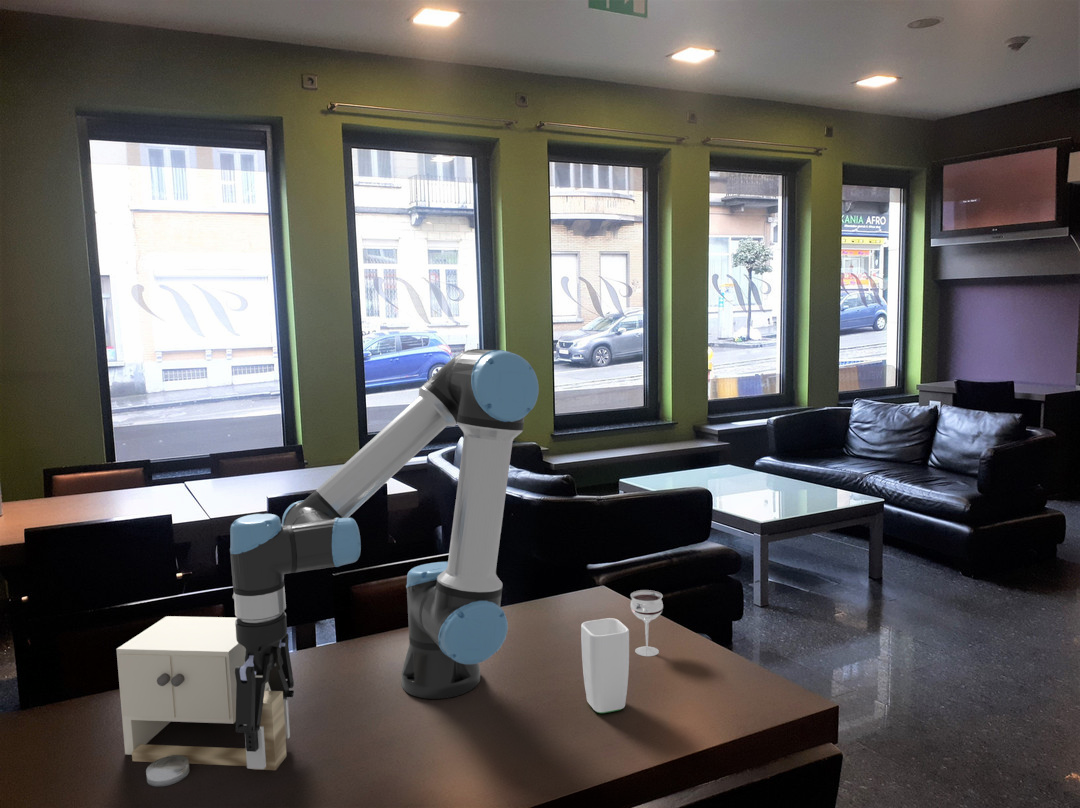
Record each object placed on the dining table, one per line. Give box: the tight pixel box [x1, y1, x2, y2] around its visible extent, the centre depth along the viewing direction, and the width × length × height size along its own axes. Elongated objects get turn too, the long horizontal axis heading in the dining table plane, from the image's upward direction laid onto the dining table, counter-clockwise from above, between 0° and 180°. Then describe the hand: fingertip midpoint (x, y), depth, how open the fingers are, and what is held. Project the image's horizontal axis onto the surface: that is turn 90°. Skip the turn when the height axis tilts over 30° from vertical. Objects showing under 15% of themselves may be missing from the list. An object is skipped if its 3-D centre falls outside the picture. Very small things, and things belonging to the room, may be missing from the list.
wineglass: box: [629, 589, 664, 657], centre depth 163 cm, size 7×7×12 cm
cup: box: [580, 617, 630, 714], centre depth 140 cm, size 7×7×15 cm
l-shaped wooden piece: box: [131, 691, 288, 771], centre depth 126 cm, size 24×4×11 cm, turn 84°
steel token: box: [145, 755, 190, 788], centre depth 122 cm, size 6×6×2 cm
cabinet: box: [115, 615, 271, 756], centre depth 133 cm, size 19×16×18 cm
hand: (269, 751), depth 125 cm, fingers open, 8 cm apart
